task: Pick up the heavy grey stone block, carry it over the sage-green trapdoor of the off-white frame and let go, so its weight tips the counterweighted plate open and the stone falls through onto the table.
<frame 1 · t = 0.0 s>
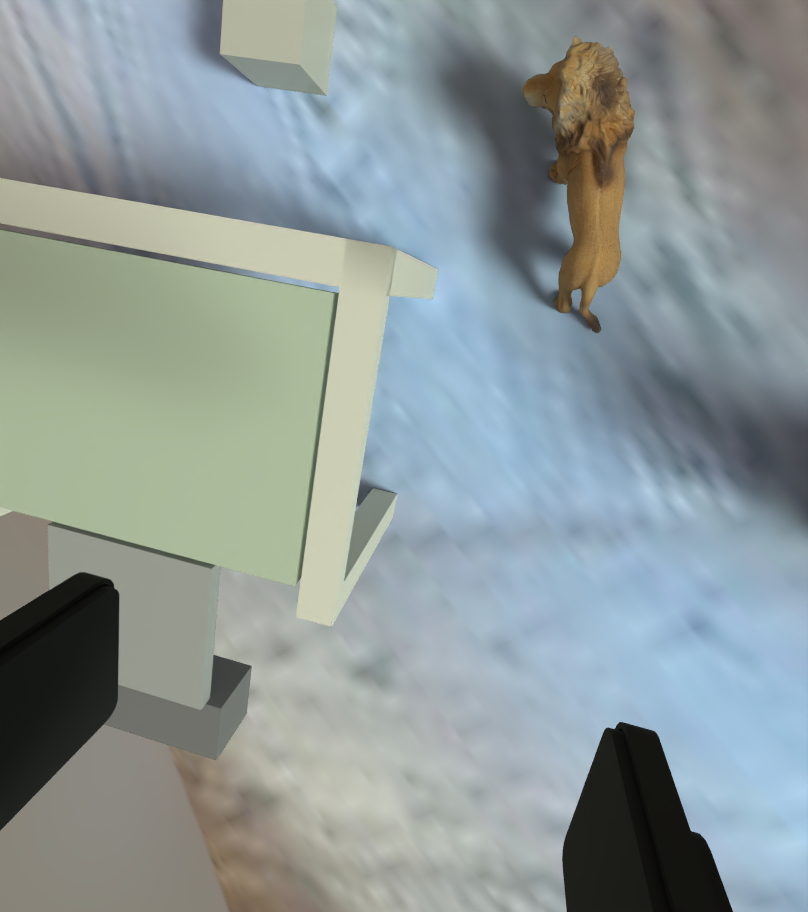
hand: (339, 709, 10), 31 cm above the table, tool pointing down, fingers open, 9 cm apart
trapdoor frame: (263, 376, 42), on the table
stone block: (296, 48, 35), on the table
trapdoor plate: (154, 517, 31), point 13 cm above the table, hinge at 0.0°
lion figurine: (573, 212, 35), on the table
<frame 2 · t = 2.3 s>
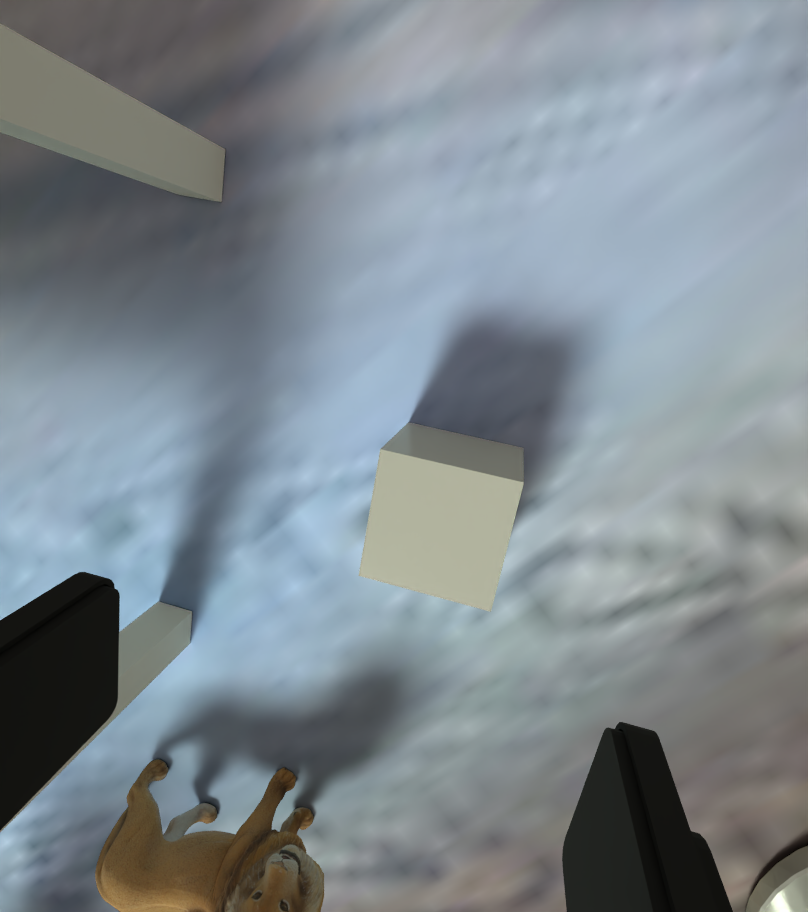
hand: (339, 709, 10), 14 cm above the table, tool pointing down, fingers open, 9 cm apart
trapdoor frame: (24, 386, 27), on the table
stone block: (453, 488, 24), on the table
lion figurine: (250, 781, 31), on the table
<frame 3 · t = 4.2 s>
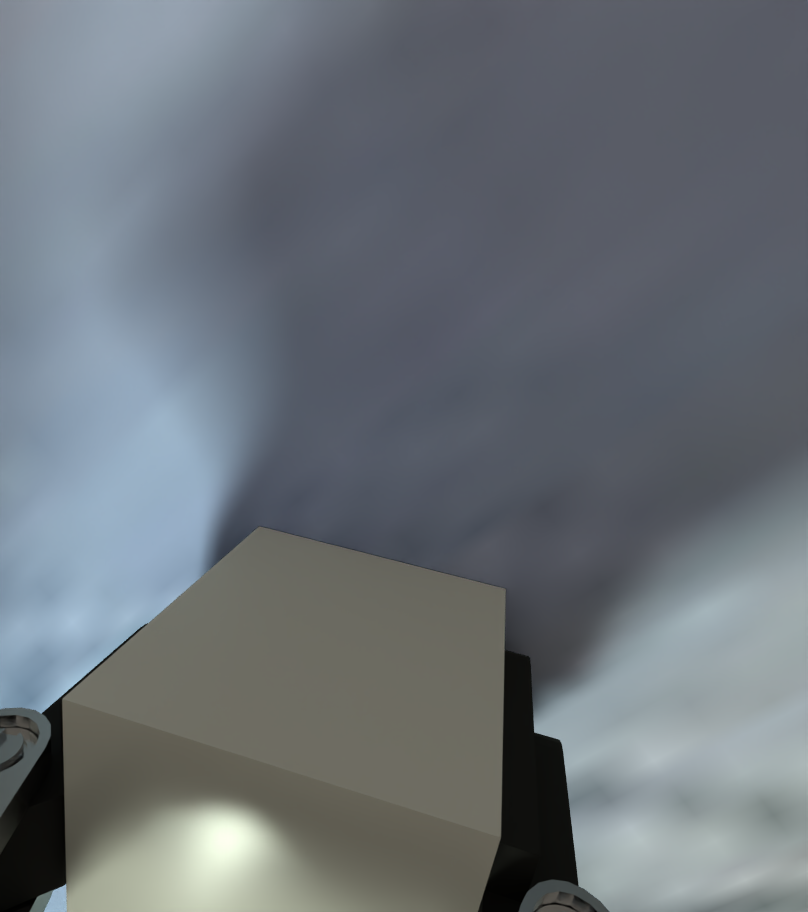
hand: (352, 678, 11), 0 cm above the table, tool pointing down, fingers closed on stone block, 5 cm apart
stone block: (359, 662, 11), on the table, touching gripper
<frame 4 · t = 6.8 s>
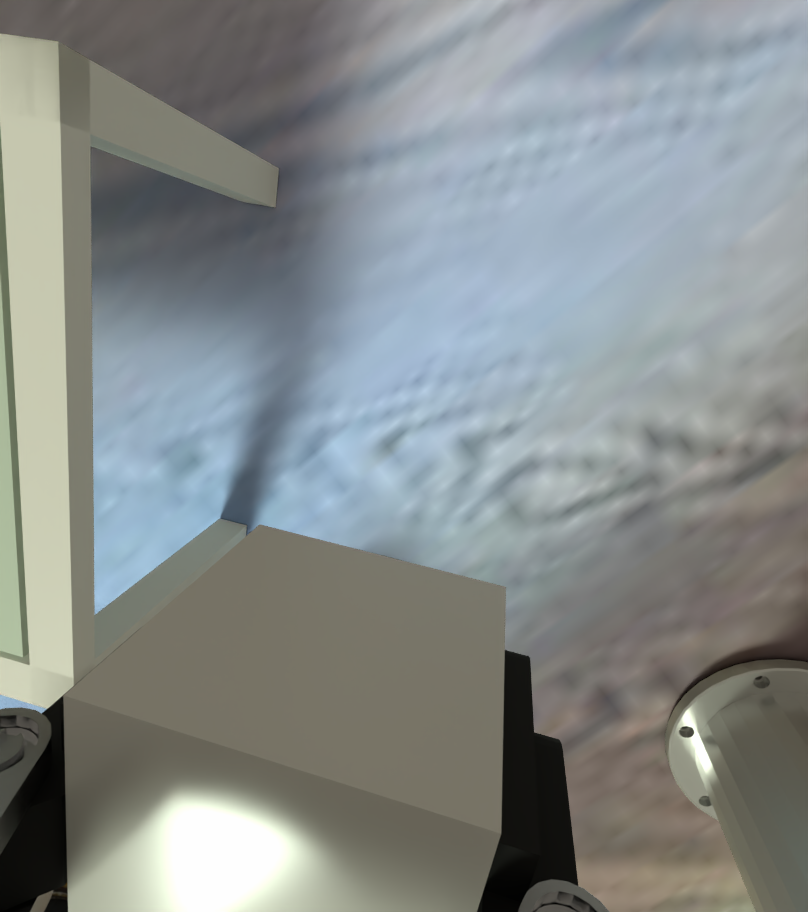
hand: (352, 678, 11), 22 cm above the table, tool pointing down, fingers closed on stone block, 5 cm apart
trapdoor frame: (114, 350, 34), on the table
stone block: (359, 660, 11), point 22 cm above the table, touching gripper
lantern: (113, 860, 49), on the table
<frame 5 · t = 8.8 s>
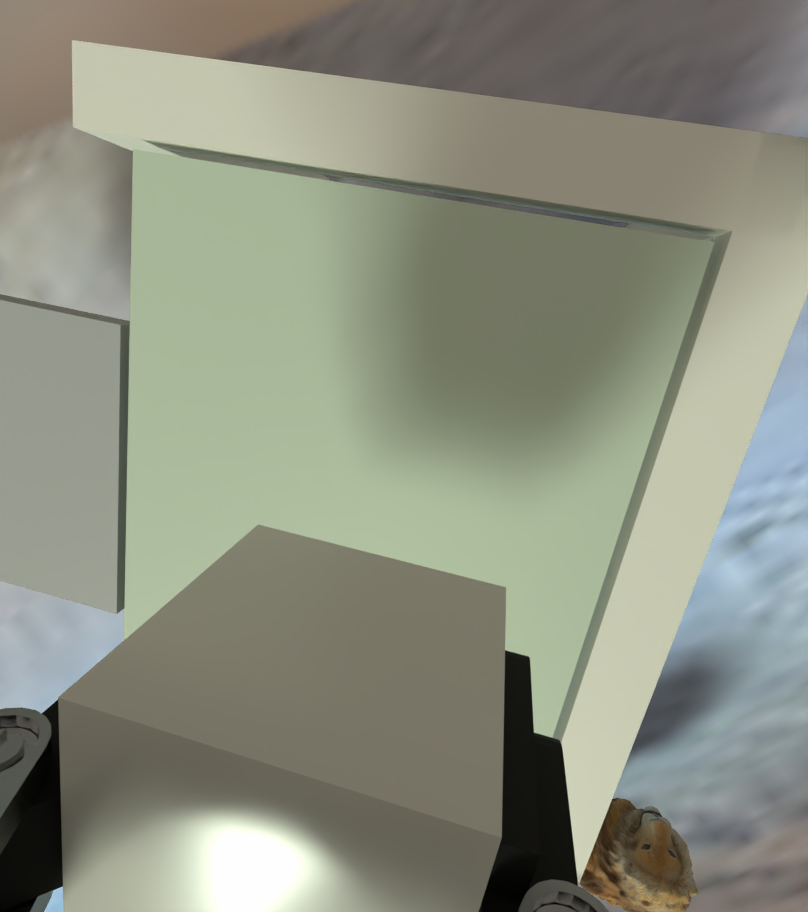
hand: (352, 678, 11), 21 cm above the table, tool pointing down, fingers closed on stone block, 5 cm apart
trapdoor frame: (420, 427, 31), on the table
stone block: (359, 661, 11), point 21 cm above the table, touching gripper
trapdoor plate: (182, 467, 19), point 13 cm above the table, hinge at 0.0°
lion figurine: (548, 761, 36), on the table
when the fingers open (18 cm above the table, at t = 9.7 s): stone block drops 15 cm and tips over, point 2 cm above the table.
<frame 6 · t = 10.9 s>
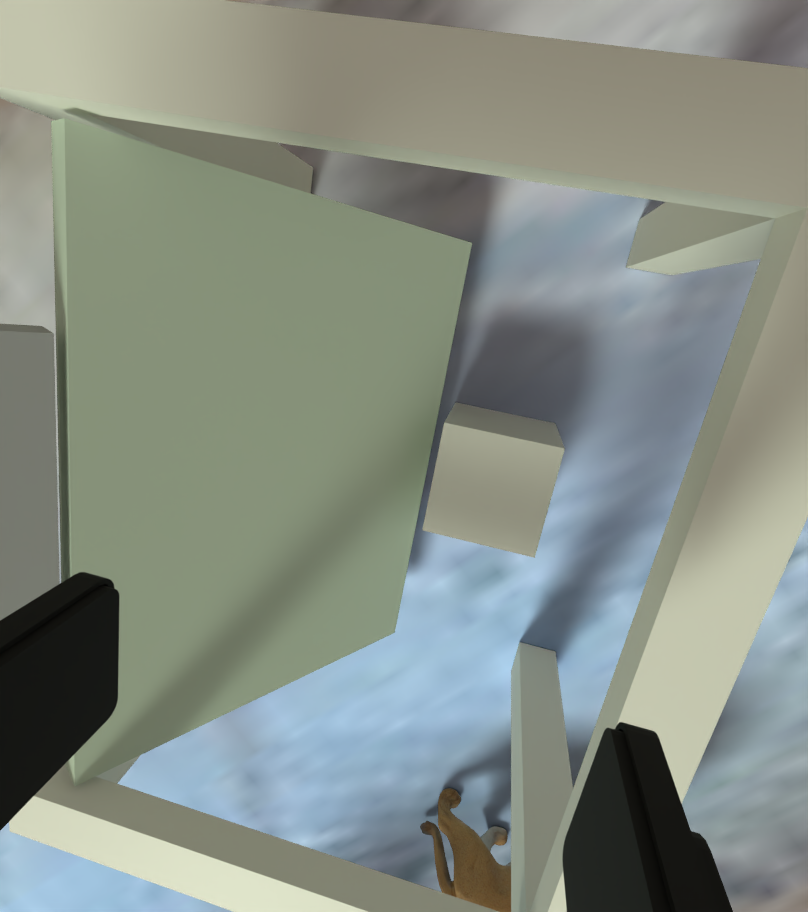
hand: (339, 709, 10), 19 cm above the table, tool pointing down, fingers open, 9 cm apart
trapdoor frame: (412, 441, 28), on the table
stone block: (440, 462, 25), point 2 cm above the table, tilted 90°
trapdoor plate: (68, 485, 16), point 13 cm above the table, hinge at -56.6°
lion figurine: (542, 804, 33), on the table
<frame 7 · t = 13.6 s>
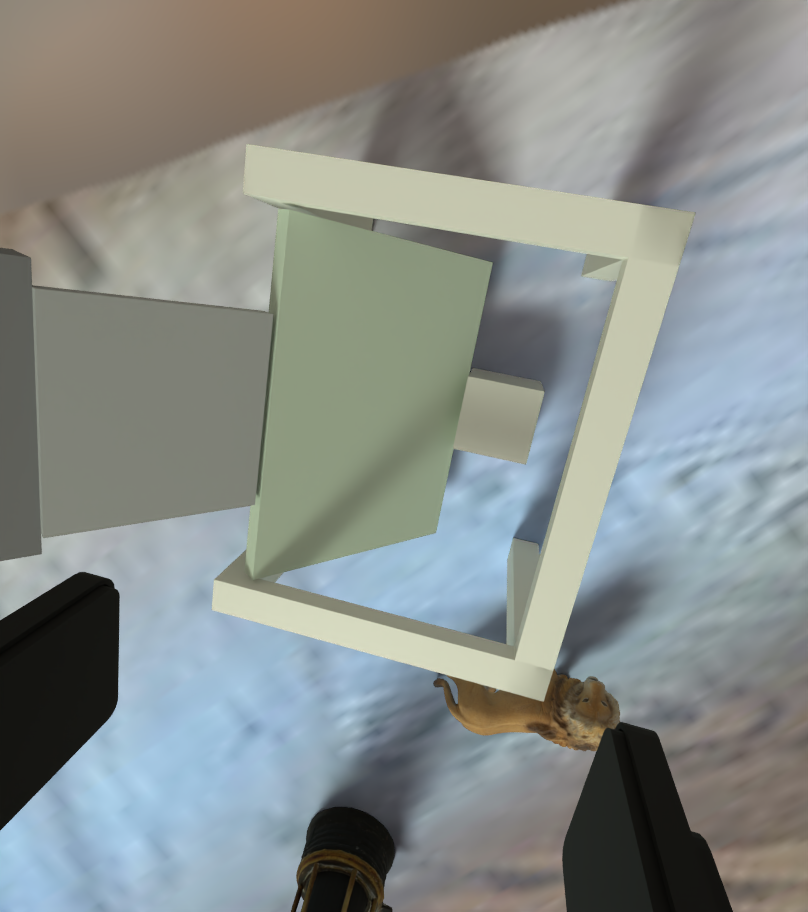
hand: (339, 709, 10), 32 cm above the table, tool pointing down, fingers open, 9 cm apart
trapdoor frame: (438, 394, 41), on the table
stone block: (463, 406, 38), point 2 cm above the table, tilted 90°
trapdoor plate: (257, 402, 29), point 13 cm above the table, hinge at -52.9°
lion figurine: (521, 661, 46), on the table
lantern: (351, 840, 55), on the table
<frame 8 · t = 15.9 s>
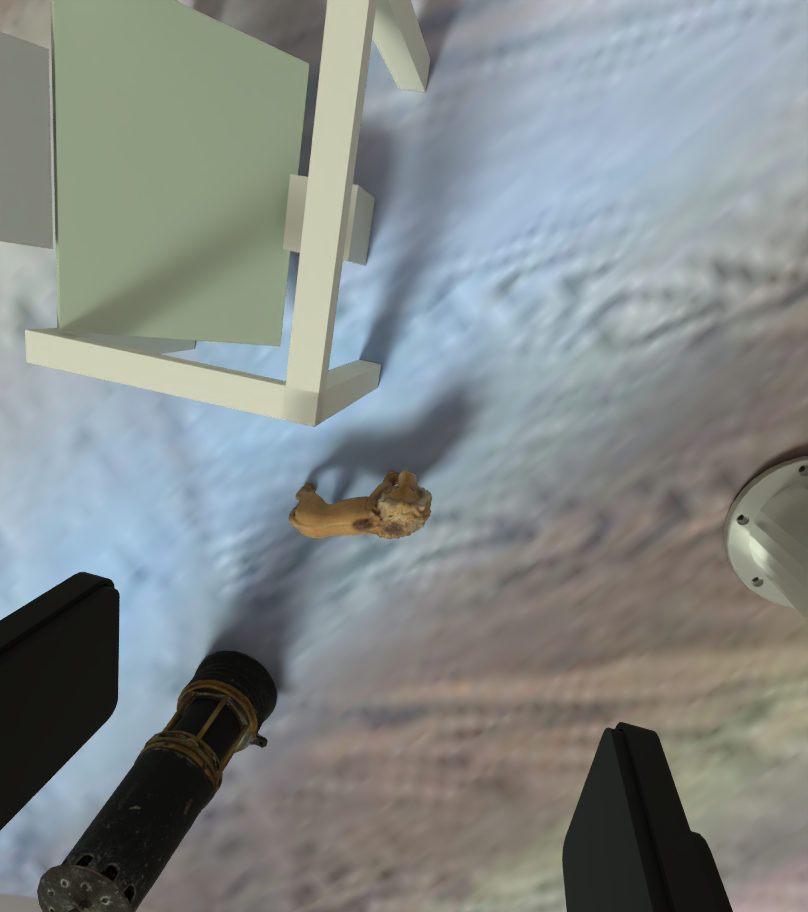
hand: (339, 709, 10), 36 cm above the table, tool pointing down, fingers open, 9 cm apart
trapdoor frame: (282, 217, 43), on the table
stone block: (299, 217, 41), point 2 cm above the table, tilted 90°
trapdoor plate: (61, 160, 32), point 13 cm above the table, hinge at -51.2°
lion figurine: (369, 489, 48), on the table
lantern: (237, 686, 58), on the table
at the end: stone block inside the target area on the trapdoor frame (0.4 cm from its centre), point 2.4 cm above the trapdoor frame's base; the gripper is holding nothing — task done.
